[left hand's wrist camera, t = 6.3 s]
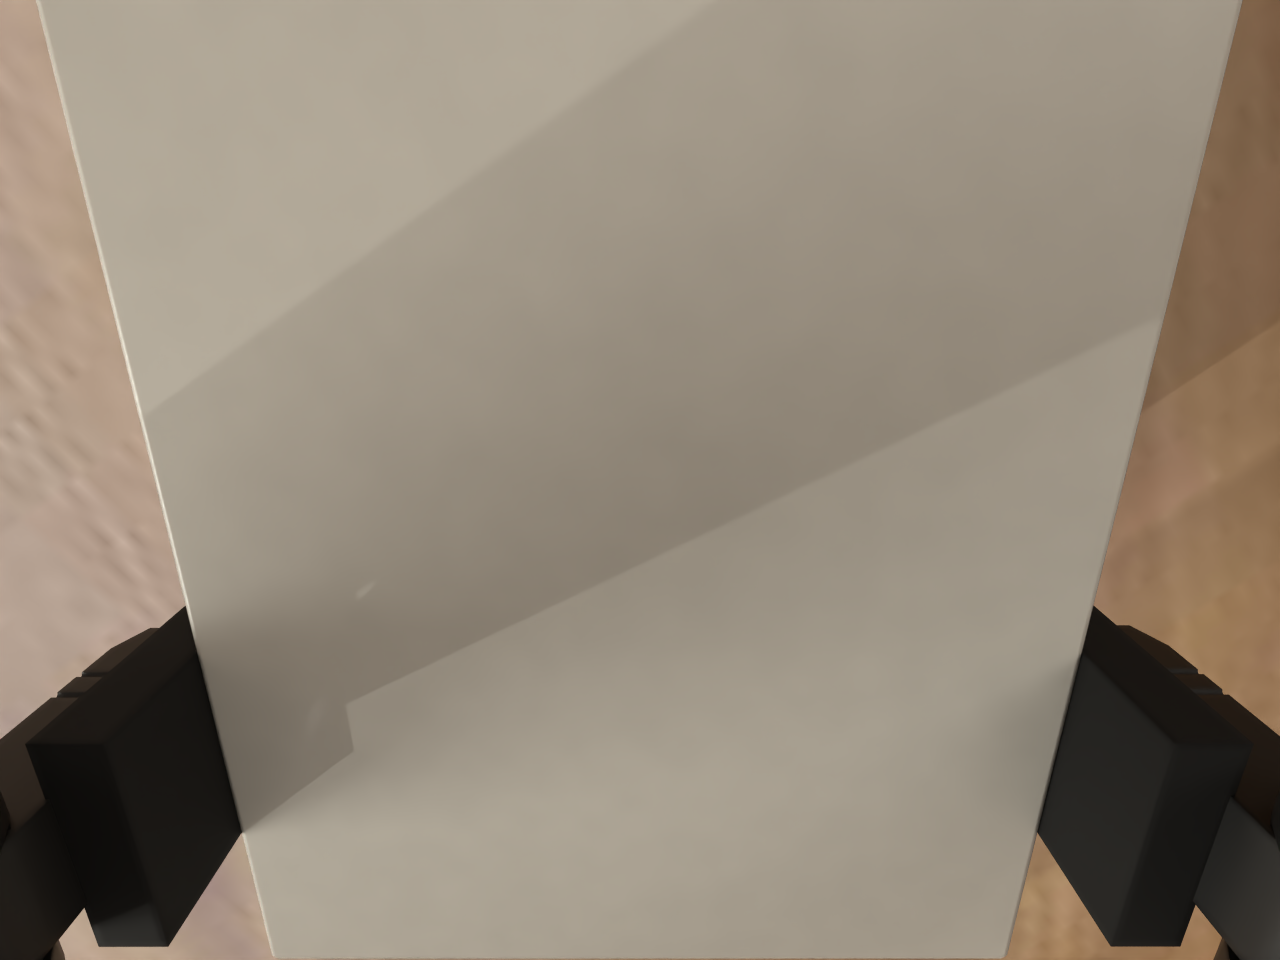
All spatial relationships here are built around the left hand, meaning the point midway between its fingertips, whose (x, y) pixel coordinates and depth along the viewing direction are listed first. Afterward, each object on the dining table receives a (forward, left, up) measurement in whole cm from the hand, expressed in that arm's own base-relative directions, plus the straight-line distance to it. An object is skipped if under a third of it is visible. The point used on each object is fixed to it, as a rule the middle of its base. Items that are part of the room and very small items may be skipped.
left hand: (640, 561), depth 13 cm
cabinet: (+5, 0, -4) cm, 6 cm away
